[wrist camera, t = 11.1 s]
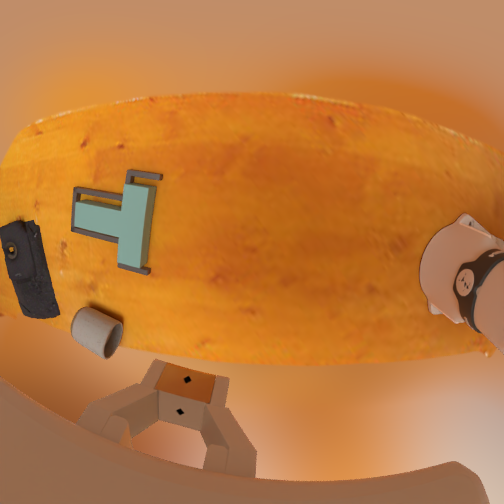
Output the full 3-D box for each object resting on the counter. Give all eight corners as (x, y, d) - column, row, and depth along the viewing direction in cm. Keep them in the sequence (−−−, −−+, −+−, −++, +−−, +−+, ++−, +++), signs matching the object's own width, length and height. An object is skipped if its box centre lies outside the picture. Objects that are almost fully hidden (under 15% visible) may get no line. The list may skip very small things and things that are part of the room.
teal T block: (156, 186, 39) (148, 188, 36) (147, 262, 42) (139, 268, 39) (88, 175, 39) (78, 176, 36) (83, 244, 42) (73, 249, 39)
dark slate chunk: (25, 313, 49) (13, 321, 44) (2, 223, 42) (-12, 228, 38) (65, 318, 48) (52, 328, 43) (39, 214, 41) (23, 219, 37)
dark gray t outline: (162, 174, 38) (160, 174, 37) (150, 272, 43) (147, 275, 41) (80, 163, 38) (76, 163, 37) (74, 251, 42) (70, 253, 41)
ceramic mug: (88, 297, 45) (66, 316, 38) (124, 314, 45) (105, 337, 38) (88, 339, 48) (69, 360, 41) (121, 355, 48) (105, 379, 41)
